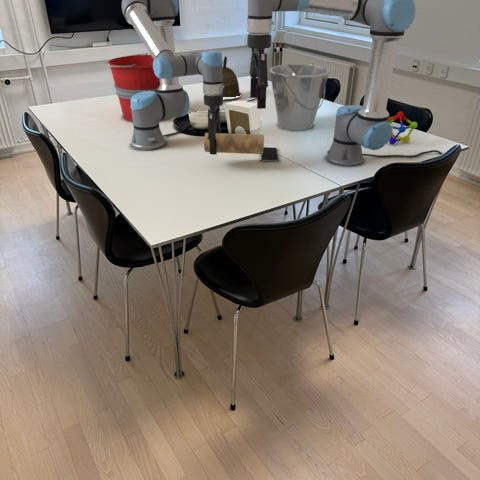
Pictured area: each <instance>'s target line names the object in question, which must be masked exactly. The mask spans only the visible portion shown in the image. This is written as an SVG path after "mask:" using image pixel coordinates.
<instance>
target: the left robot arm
mask: <svg viewBox="0 0 480 480" xmlns="http://www.w3.org/2000/svg"><path fill="white" fill-rule="evenodd" d="M121 11H122V12H121V13H122V14H123V17H124V19H125V20H126V22H127V23H128V24H129V25H131V26H132V27H133V28H134V30H135V32H136V34H138V36H139V38H140V40H141V42H142V43H143V44H144V47H145V48H146V50H147V51H148V54H150V55H151V56H152V57H153V59H154V61H153V70H154V72H155V75H156V77H158V78H159V80H160V86H159V87H158V89H157V90H158V94H156V92H154V91H143V92H139V93H137V94H135V95H133V96H132V97H131V111H132V118H133V122H132V125H133V132H132V135H131V142H130V143H131V147H132V148H134V149H135V150H141V151H151V150H153V151H154V150H157V149H161V148H163V147H164V146H165V144H166V140H165V137H169V136H173V135H177V134H180V133H183V132H184V131H185V130H186V129H188V128H189V127H191V126H192V125H191V123H189V124H188V125H187V126H185V127H184V128H183V129H181V130H179V131H176V132H171V133H167V134H163V132H162V130H161V127H160V122H161V121H165V120H171V119H178V118H181V117H184V116H186V115H187V114H188V113H189V110H190V104H191V103H190V102H191V101H190V97H189V94H188V92H187V90H185V89H184V86H182V84H181V83H180V79H179V78H180V77H189V76H195V75H196V76H198V75H200V76H201V77H202V91H203V94H204V95H203V104H204V105H205V106H207V107H209V108H208V110H207V114H208V115H207V133H208V137H207V139H209V143H210V152H209V155H214V156H215V155H218V153H217V143H216V133H221V132H222V130H223V129H222V128H221V114H220V113H221V112H220V111H221V110H220V107H221V106H222V105H223V104H224V100H223V95H222V93H223V88H224V85H222V84H223V62H224V61H223V54H222V52H221V51H219V50H213V49H209V50H204V51H202V53H201V52H196V51H195V52H194V51H193V52H192V51H191V52H189V53H188V54H182V55H181V54H180V55H176V49H175V48H176V47H175V39H174V30H173V24H174V23H175V21H176V18H175V17H176V16H178V14H179V0H121ZM255 100H256V101H257V98H251V99H248V100H247V101H249V102H253V101H255ZM160 120H161V121H160Z"/></svg>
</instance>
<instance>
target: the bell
mask: <svg viewBox="0 0 480 480" xmlns="http://www.w3.org/2000/svg"><path fill="white" fill-rule="evenodd" d="M222 62H223V84H222V85H224V88H223V93H222V95H223V97H236V96H240V95H241V96H242V93H241V92H240V83H239V80H238V79H239V78H238V77H237V75H236V73H235V72H234V70H232V69H231V68H230V67H227V63H228V57H227V56H224V58H223V61H222Z"/></svg>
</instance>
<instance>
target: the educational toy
mask: <svg viewBox="0 0 480 480" xmlns="http://www.w3.org/2000/svg"><path fill="white" fill-rule="evenodd" d="M397 119H399V124H400V125H399V127H398V126H393V125H391V124H392V123H394V122H395V121H396V120H397ZM403 120H404V121H405V122H407V123H408V124H409V125H407V126H404V123H403ZM388 123H390V125H391V126H392V129H393V130H397V131H398V132H396V134H395V133H394V132H392V136H391V138H390V140H389V141H388V143H389V145H395V144H396V143H397V142H402V141H403V142H404V143H409V142H410V140H411V138H410V136H411V134H412V132H413V131H414V130H415V129H417V127H418V122H417V121H411V120H410V119H409V118H408V117H406V116H405V113H404V112H403V111H401V110H400V111H398V112H397V114H396V115H394V116H391V117H390V116H389V118H388ZM408 129H409V131H408V133H407V134H406V135H404V136H401V134H403V133H405V132H406V130H408ZM399 135H400V136H399Z"/></svg>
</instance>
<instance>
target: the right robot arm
mask: <svg viewBox="0 0 480 480" xmlns="http://www.w3.org/2000/svg"><path fill="white" fill-rule="evenodd" d="M277 12H302V13H310V14H318V15H326V16H327V15H328V16H335V17H342V19H343V20H345V21H351V22H355V23H359V24H361V25H364V26H366V27H369V36H370V38H371V39H372V44H371V50H370V51H371V52H370V58H369V63H368V69H367V70H368V71H367V76H366V83H365V91H364V97H363V103H362V105H359V104H349V105H348V104H347V105H346V104H345V105H342V106H338V108H337V111H336V114H335V122H334V132H333V139H332V143H331V145H330V146H329V149H328V151H327V153H326V154H327V155H326V159H327V161H328V162H329V163H331V164H334V165H337V166H340V167H341V166H342V167H353V166H359V165H362V163H363V160H364V156H366V157H372V158H373V157H374V158H417V157H419V156H421V155H423V154H429V153H437V154H439V155H443V153H442V152H441V151H440V150H437V149H434V150H433V149H431V150H427V151H422V152H419V153H418V154H413V155H405V154H385V155H381V154H370V153H363V149H362V147H363V148H365V149H368V150H369V151H370V150H371V151H377V150H380V149H382V148H383V147H385V145H386V144H388V143H389V140H390V138H391V136H392V133H393V130H394V129H393V128H392V126H393V125H391V124H390V123H388V118H389V117H390V113H389V111H388V110H387V106H388V100H389V94H390V88H391V83H392V77H393V72H394V67H395V62H396V61H395V60H396V55H397V49H398V44H399V41H400V40H401V39H402V38H403V37H404V36H405V31H407V30H408V29H410V27H411V25H412V24H413V22H414V20H415V16H416V4H415V1H414V0H247V19H246V21H247V25H246V26H247V27H246V29H247V30H246V31H247V32H246V33H248V34H247V37H246V38H247V39H246V40H247V41H246V42H247V43H246V45H247V47H248V48H249V49H250V50H251V56H250V66H249V72H248V73H249V77H250V88H249V89H250V91H249V93H250V94H249V95H250V99H255V98H257V99H256V109H258V110H263V109H267V108H266V107H267V88H269V76H268V74H269V73H268V54H267V53H265V49H270V48H271V47H272V34H271V33H272V31H273V30H272V28H273V27H272V26H273V25H274V22H275V21H273V13H277Z"/></svg>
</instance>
